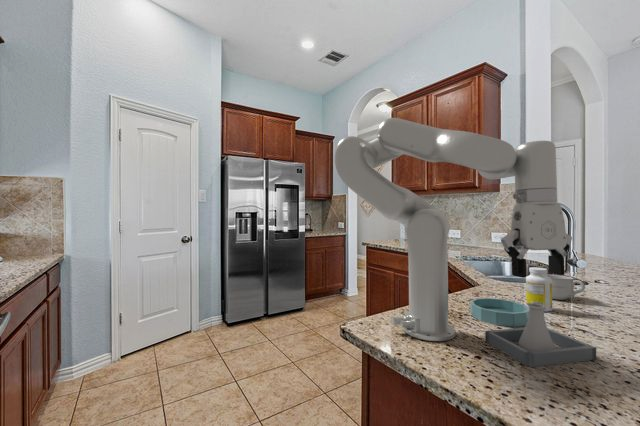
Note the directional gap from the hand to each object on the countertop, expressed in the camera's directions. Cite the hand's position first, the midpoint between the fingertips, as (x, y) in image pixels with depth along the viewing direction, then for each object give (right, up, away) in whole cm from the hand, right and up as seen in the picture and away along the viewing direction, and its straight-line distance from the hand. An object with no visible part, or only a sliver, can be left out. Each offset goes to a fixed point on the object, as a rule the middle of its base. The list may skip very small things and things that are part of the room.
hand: (538, 275), depth 65 cm
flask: (0, -17, 0) cm, 17 cm away
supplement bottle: (+21, -17, +28) cm, 39 cm away
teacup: (+37, -17, +39) cm, 56 cm away
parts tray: (0, -17, 0) cm, 17 cm away
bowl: (+4, -17, +21) cm, 27 cm away
